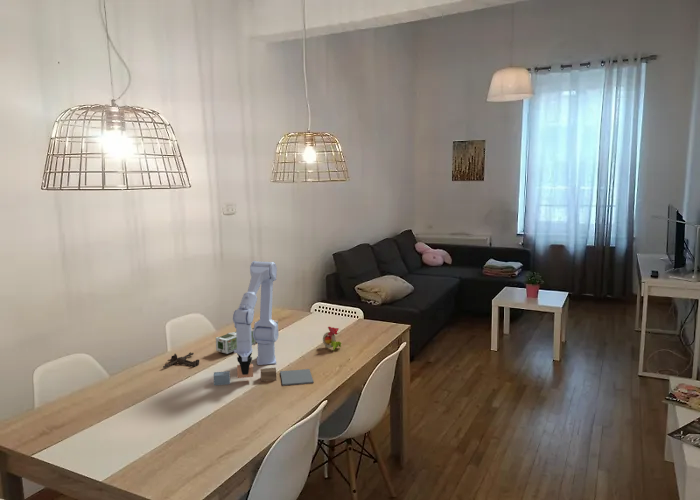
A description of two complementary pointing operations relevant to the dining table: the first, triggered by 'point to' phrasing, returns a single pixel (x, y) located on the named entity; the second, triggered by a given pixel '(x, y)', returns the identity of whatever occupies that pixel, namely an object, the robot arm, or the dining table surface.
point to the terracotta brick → (240, 375)
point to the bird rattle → (331, 338)
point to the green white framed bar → (230, 341)
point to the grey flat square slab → (296, 377)
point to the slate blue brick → (221, 378)
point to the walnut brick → (268, 374)
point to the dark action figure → (182, 361)
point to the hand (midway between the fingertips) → (245, 372)
